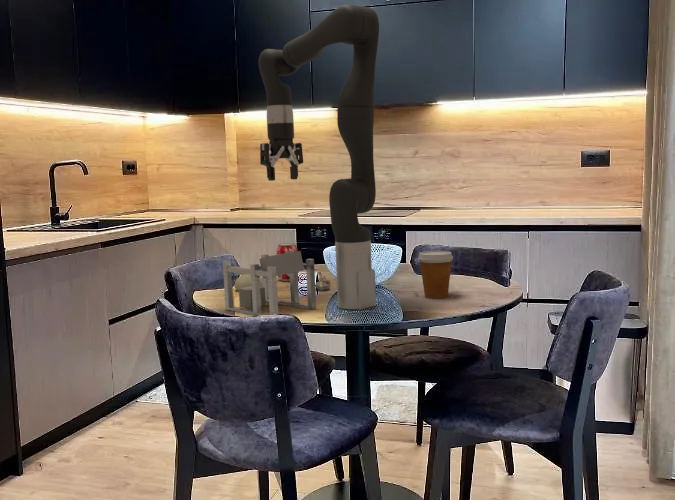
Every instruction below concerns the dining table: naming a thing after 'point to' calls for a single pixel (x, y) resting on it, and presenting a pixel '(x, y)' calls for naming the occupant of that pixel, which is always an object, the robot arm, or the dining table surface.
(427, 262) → the disposable coffee cup
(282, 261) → the trapdoor
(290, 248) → the soda can
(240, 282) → the sea urchin shell
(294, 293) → the frame
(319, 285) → the figurine
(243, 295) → the basalt cube
